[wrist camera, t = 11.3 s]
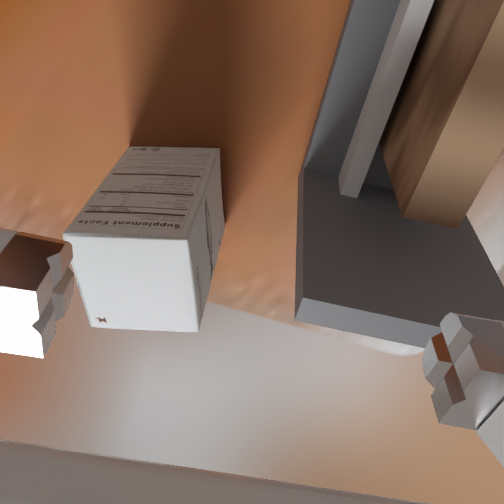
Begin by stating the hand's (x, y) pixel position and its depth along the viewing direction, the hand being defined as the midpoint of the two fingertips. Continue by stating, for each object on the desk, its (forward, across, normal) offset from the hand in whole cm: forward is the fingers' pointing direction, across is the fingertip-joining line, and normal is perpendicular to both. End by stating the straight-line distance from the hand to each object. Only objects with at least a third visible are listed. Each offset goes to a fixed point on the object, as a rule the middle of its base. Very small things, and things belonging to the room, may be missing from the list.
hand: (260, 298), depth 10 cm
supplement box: (+26, +5, +13) cm, 29 cm away
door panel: (+24, -10, -1) cm, 26 cm away
